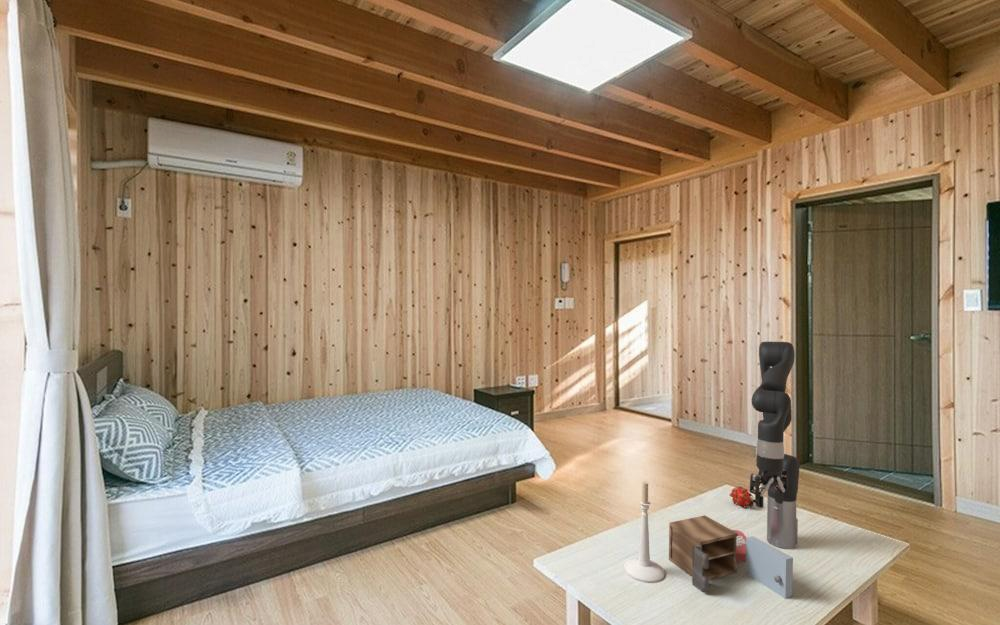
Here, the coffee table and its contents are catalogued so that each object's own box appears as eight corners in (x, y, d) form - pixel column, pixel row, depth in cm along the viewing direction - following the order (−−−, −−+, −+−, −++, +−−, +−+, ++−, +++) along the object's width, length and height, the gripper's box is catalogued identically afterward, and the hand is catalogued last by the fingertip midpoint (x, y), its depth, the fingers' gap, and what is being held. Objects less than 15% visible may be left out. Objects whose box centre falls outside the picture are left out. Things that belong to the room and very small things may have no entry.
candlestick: (672, 580, 149) (673, 487, 149) (634, 584, 147) (635, 490, 146) (652, 559, 162) (653, 473, 161) (617, 562, 160) (618, 475, 159)
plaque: (699, 525, 179) (740, 528, 177) (699, 535, 180) (740, 538, 177) (714, 549, 162) (760, 553, 160) (713, 560, 162) (759, 564, 160)
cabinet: (704, 551, 167) (705, 515, 167) (752, 582, 149) (753, 541, 148) (660, 562, 160) (660, 524, 160) (704, 595, 141) (705, 553, 141)
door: (752, 571, 154) (752, 536, 154) (792, 596, 141) (793, 557, 141) (742, 574, 153) (743, 538, 153) (782, 599, 140) (783, 560, 140)
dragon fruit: (733, 502, 212) (752, 518, 201) (721, 493, 210) (739, 508, 199) (744, 487, 212) (764, 502, 201) (732, 478, 210) (751, 493, 199)
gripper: (775, 448, 153) (774, 497, 153) (743, 452, 148) (742, 503, 148) (797, 455, 146) (796, 506, 146) (764, 460, 141) (763, 513, 141)
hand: (769, 504), depth 147 cm, fingers open, 8 cm apart
